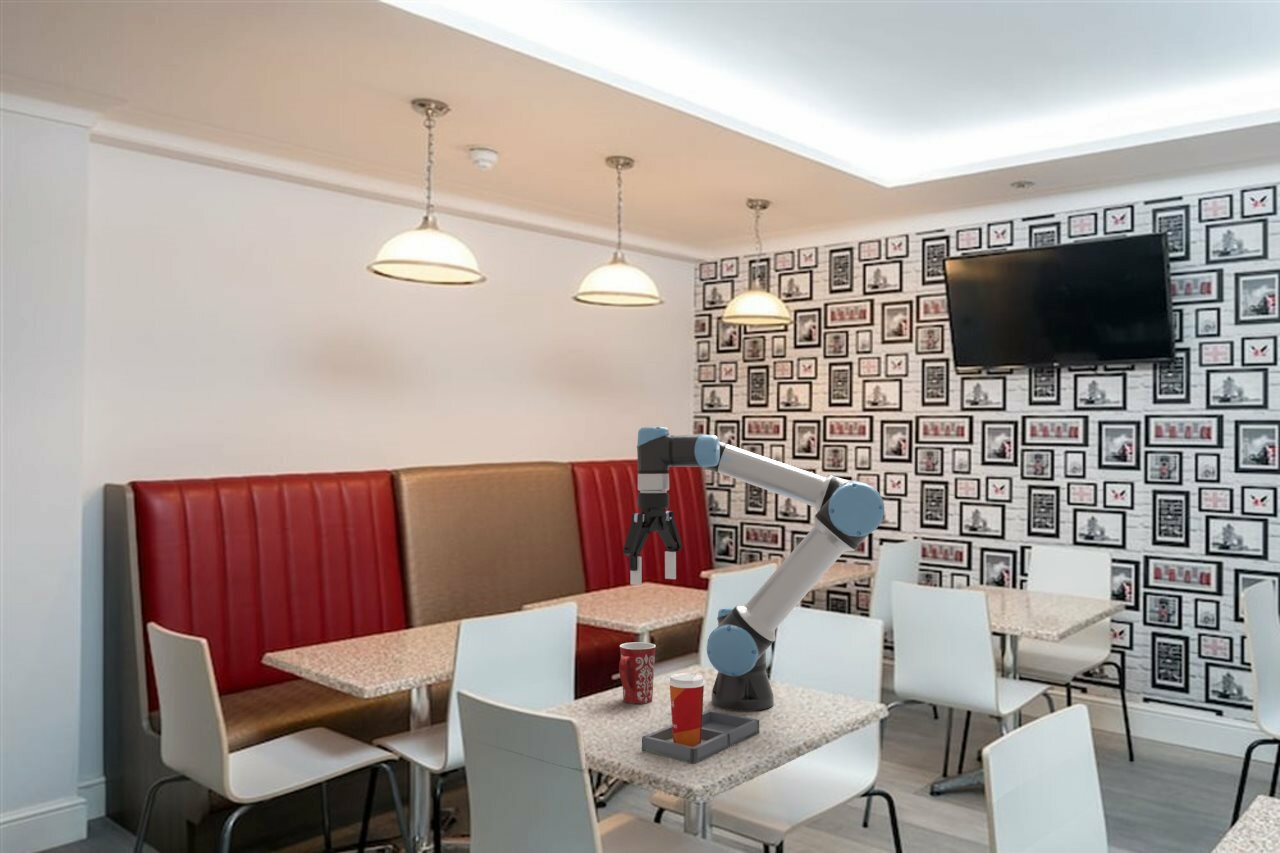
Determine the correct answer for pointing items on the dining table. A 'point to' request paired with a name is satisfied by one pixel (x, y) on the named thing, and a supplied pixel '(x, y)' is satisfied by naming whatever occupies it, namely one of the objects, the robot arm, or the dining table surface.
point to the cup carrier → (703, 737)
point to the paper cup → (686, 708)
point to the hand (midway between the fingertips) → (653, 581)
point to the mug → (637, 671)
